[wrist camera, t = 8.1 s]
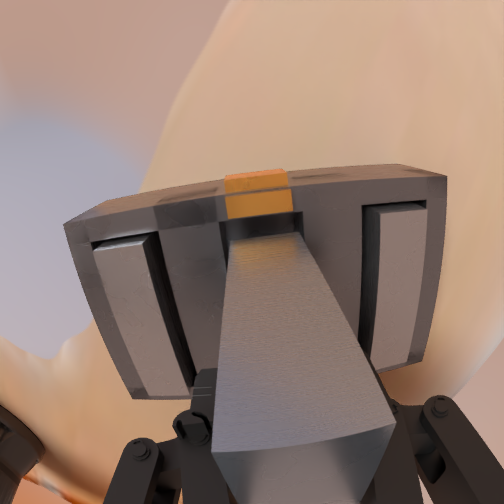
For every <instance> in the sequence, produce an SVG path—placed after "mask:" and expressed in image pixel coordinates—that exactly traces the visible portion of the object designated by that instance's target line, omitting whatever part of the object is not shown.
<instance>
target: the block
mask: <svg viewBox="0 0 504 504" xmlns="http://www.w3.org/2000/svg"><path fill="white" fill-rule="evenodd" d="M395 425H396V420H395V418H394V416H393V414H392V412H391V409H390V407H389V405H388V403H387V401H386V399H385V397H384V394H383V392H382V390H381V388H380V386H379V384H378V382H377V380H376V378H375V375H374V373H373V371H372V369H371V367H370V365H369V363H368V361H367V359H366V357H365V355H364V353H363V351H362V349H361V347H360V345H359V343H358V341H357V339H356V337H355V335H354V333H353V331H352V329H351V327H350V325H349V323H348V321H347V319H346V318H345V316H344V314H343V312H342V310H341V308H340V306H339V304H338V302H337V300H336V299H335V297H334V295H333V293H332V291H331V289H330V287H329V285H328V284H327V282H326V280H325V278H324V276H323V274H322V273H321V271H320V269H319V267H318V265H317V263H316V262H315V260H314V258H313V256H312V254H311V253H310V251H309V249H308V247H307V246H306V244H305V242H304V240H303V238H302V237H301V235H300V233H299V232H293V233H285V234H277V235H269V236H261V237H253V238H245V239H237V240H231V241H230V250H229V259H228V268H227V277H226V287H225V297H224V307H223V317H222V327H221V338H220V349H219V360H218V371H217V383H216V395H215V408H214V421H213V434H212V448H211V453H212V455H213V457H214V459H215V461H216V463H217V465H218V467H219V469H220V471H221V473H222V475H223V477H224V479H225V481H226V482H227V484H228V486H229V488H230V490H231V492H232V494H233V495H234V497H235V499H236V501H237V503H238V504H359V503H360V501H361V500H362V498H363V496H364V494H365V492H366V490H367V488H368V486H369V484H370V482H371V480H372V478H373V476H374V474H375V472H376V470H377V468H378V466H379V463H380V461H381V459H382V457H383V455H384V452H385V450H386V448H387V445H388V443H389V440H390V438H391V435H392V433H393V430H394V428H395Z"/></svg>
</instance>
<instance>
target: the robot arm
mask: <svg viewBox="0 0 504 504" xmlns="http://www.w3.org/2000/svg"><path fill="white" fill-rule="evenodd" d="M362 351H363V350H362ZM363 353H364V355H365V357H366V359H367V361H368V363H369V365H370V367H371V369H372V371H373V373H374V375H375V378H376V380H377V382H378V384H379V386H380V388H381V390H382V392H383V394H384V397H385V399H386V401H387V403H388V405H389V407H390V409H391V412H392V414H393V416H394V418H395V420H396V425H395V428H394V430H393V433H392V435H391V438H390V440H389V443H388V445H387V448H386V450H385V452H384V455H383V457H382V459H381V461H380V463H379V466H378V468H377V470H376V472H375V474H374V476H373V478H372V480H371V482H370V484H369V486H368V488H367V490H366V492H365V494H364V496H363V498H362V500H361V501H360V504H424V503H423V498H422V492H421V487H420V482H419V478H418V475H419V477H420V479H421V481H422V482H423V484H424V486H425V488H426V490H427V492H428V494H429V496H430V498H431V500H432V501H433V503H434V504H504V469H503V468H502V466H501V465H500V463H499V462H498V461H497V459H496V458H495V456H494V455H493V453H492V452H491V451H490V449H489V448H488V446H487V445H486V444H485V442H484V441H483V439H482V438H481V437H480V435H479V434H478V432H477V431H476V430H475V429H474V427H473V426H472V424H471V423H470V422H469V420H468V419H467V418H466V416H465V415H464V414H463V412H462V411H461V410H460V408H459V407H458V406H457V404H456V403H455V402H454V401H453V400H452V399H451V398H449V397H446V396H443V395H437V396H433V397H431V398H429V399H428V400H427V401H426V402H425V404H424V405H419V406H405V405H400V404H399V403H398V402H396V401H395V400H394V399H391V398H390V397H389V395H388V394H387V392H386V390H385V388H384V386H383V384H382V382H381V379H380V377H379V375H378V373H377V371H375V367H374V366H373V364H372V362H371V360H370V358H369V356H368V354H367V353H366V352H365V351H363ZM217 371H218V368H209V369H201V370H200V372H199V373H198V375H197V376H196V377H195V382H194V389H193V394H192V395H193V397H192V400H191V407H190V409H189V410H186V411H183V412H182V413H180V414H179V415H177V417H176V418H175V419H174V421H173V425H172V427H173V429H174V430H175V432H176V434H177V436H178V437H177V438H175V439H172V440H169V441H165V442H160V443H155V442H154V441H153V440H151V439H148V438H137V439H134V440H132V441H131V442H129V443H128V444H127V445H126V447H125V448H124V450H123V453H122V455H121V458H120V460H119V463H118V465H117V468H116V470H115V473H114V476H113V478H112V481H111V483H110V486H109V489H108V491H107V494H106V497H105V499H104V502H103V504H178V501H179V497H180V492H181V488H182V496H183V504H238V503H237V501H236V499H235V497H234V495H233V494H232V492H231V490H230V488H229V486H228V484H227V482H226V481H225V479H224V477H223V475H222V473H221V471H220V469H219V467H218V465H217V463H216V461H215V459H214V457H213V455H212V453H211V448H212V434H213V421H214V408H215V395H216V383H217ZM43 454H44V448H43V446H42V444H41V442H40V441H39V440H38V439H37V437H36V436H35V435H34V434H33V433H32V432H31V431H30V430H29V429H28V428H27V427H26V426H25V425H24V424H23V423H21V422H20V421H19V420H18V419H17V418H16V417H14V416H13V415H12V414H11V413H9V412H8V411H7V410H5V409H4V408H3V407H1V406H0V504H12V501H13V499H14V496H15V494H16V491H17V488H18V486H19V483H20V481H21V479H22V478H23V476H25V475H26V474H27V473H28V472H29V471H30V470H31V469H32V468H33V467H34V466H35V464H37V463H39V462H40V460H41V458H42V456H43Z"/></svg>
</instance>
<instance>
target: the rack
mask: <svg viewBox="0 0 504 504" xmlns="http://www.w3.org/2000/svg"><path fill="white" fill-rule="evenodd" d="M446 207H447V176H445V175H442V174H438V173H434V172H430V171H426V170H422V169H418V168H414V167H410V166H405V165H401V164H384V165H363V166H347V167H333V168H320V169H309V170H298V171H288V172H285V171H284V170H283V169H274V170H266V171H257V172H249V173H241V174H234V175H227V176H226V177H225V179H223V180H216V181H210V182H203V183H197V184H191V185H185V186H179V187H173V188H167V189H162V190H156V191H151V192H146V193H141V194H136V195H131V196H126V197H121V198H116V199H112V200H107V201H105V202H103V203H101V204H99V205H97V206H95V207H93V208H91V209H90V210H88V211H86V212H84V213H82V214H80V215H79V216H77V217H75V218H73V219H71V220H70V221H68V222H66V223H65V224H63V226H64V230H65V233H66V237H67V241H68V244H69V247H70V251H71V254H72V257H73V261H74V264H75V267H76V270H77V273H78V276H79V279H80V282H81V285H82V288H83V290H84V293H85V296H86V299H87V301H88V304H89V306H90V309H91V312H92V314H93V317H94V319H95V321H96V324H97V326H98V329H99V331H100V333H101V336H102V338H103V340H104V343H105V345H106V347H107V349H108V351H109V354H110V356H111V358H112V360H113V362H114V364H115V366H116V368H117V370H118V372H119V374H120V376H121V378H122V380H123V382H124V384H125V386H126V388H127V390H128V392H129V393H130V395H131V397H132V399H148V400H180V399H192V397H193V395H192V394H193V389H194V382H195V377H196V376H197V375H198V373H199V372H200V370H201V369H209V368H218V360H219V349H220V338H221V327H222V317H223V307H224V297H225V287H226V277H227V268H228V259H229V250H230V241H231V240H237V239H245V238H253V237H261V236H269V235H277V234H285V233H293V232H299V233H300V235H301V237H302V238H303V240H304V242H305V244H306V246H307V247H308V249H309V251H310V253H311V254H312V256H313V258H314V260H315V262H316V263H317V265H318V267H319V269H320V271H321V273H322V274H323V276H324V278H325V280H326V282H327V284H328V285H329V287H330V289H331V291H332V293H333V295H334V297H335V299H336V300H337V302H338V304H339V306H340V308H341V310H342V312H343V314H344V316H345V318H346V319H347V321H348V323H349V325H350V327H351V329H352V331H353V333H354V335H355V337H356V339H357V341H358V343H359V345H360V347H361V349H362V350H363V351H365V352H366V353H367V354H368V356H369V358H370V360H371V362H372V364H373V366H374V367H375V371H377V373H381V372H385V371H389V370H393V369H397V368H400V367H404V366H407V365H411V364H414V363H417V362H421V361H422V359H423V356H424V352H425V348H426V344H427V340H428V336H429V331H430V327H431V322H432V318H433V313H434V308H435V303H436V297H437V291H438V285H439V279H440V272H441V264H442V256H443V247H444V237H445V224H446Z"/></svg>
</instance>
